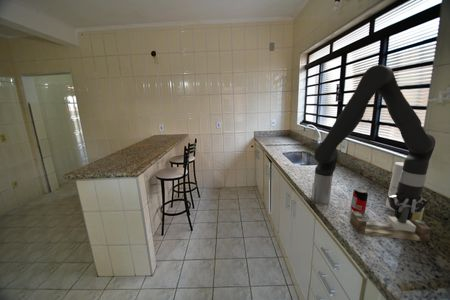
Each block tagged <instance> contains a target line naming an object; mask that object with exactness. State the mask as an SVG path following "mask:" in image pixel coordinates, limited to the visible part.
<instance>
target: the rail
mask: <svg viewBox="0 0 450 300" xmlns="http://www.w3.org/2000/svg"><path fill="white" fill-rule="evenodd" d="M409 221H410V222H411V223H413V224H414V225H415V226H416V229H415V232H412V231H404V230H396V229H394V228H393V227H392V226H391V225H390V224H389V222H388V223H387V222H379V221H377V222H376V221H372V220H371V221H368V220H366V218H364V216H363V214H362V213H359V212H357V211H353V210H351V214H350V219H349V223H350V225H351V226H352V227H353V229H354V231H355V232H356V233H358V234H365V235H371V236H372V235H373V236H380V237H386V238H387V237H388V238H396V239H401V240H402V239H403V240H411V241H418V242H419V241H420V242H427V243H428V241H429V240H430V239H429V238H430V236H431V232H432V228H431V227H429V226H428V225H427V224H426V223H425V222H424V221H422V219H421V220H419V219H418V218H414V217H412V219H410V220H409Z"/></svg>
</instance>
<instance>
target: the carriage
mask: <svg viewBox="0 0 450 300" xmlns="http://www.w3.org/2000/svg"><path fill="white" fill-rule="evenodd" d="M409 210H410V208H409V207H408V206H407V205H405V207H404V208H403V209H402V211H401V212H402V213H401V217H400V219H397V218H396V217H395V216H390V215H389V216H387V221H386V222H388V224H390V225H391V226H392V227H393V228H394V229H396V230H404V231H412V232H415V229H416V226H415V225H414V224H413V223H411V222H410V221H409V220H407V218H408V214H409Z"/></svg>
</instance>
